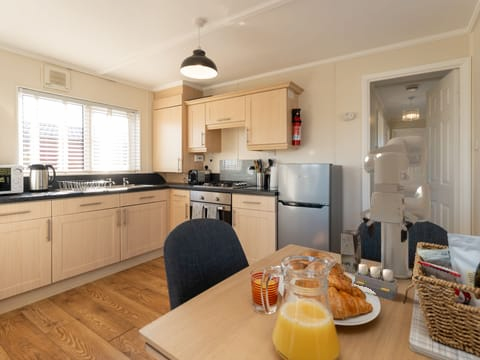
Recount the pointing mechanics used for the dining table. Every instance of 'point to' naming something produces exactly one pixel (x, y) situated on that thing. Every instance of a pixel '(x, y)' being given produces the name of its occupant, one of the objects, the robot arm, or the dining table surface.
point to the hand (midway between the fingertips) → (386, 239)
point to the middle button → (375, 272)
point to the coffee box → (351, 250)
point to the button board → (378, 285)
